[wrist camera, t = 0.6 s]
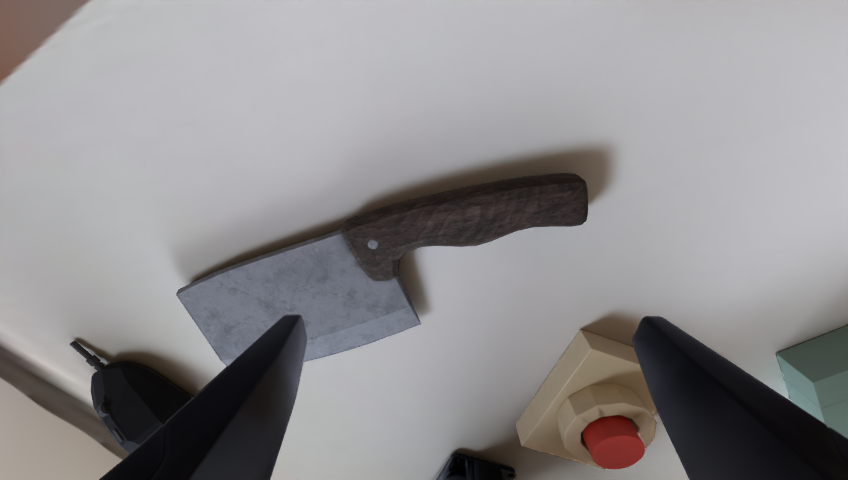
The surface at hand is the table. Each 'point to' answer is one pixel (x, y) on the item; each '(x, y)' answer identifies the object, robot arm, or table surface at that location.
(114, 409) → the gaming mouse
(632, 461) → the button
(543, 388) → the panel
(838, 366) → the green square frame
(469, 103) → the table surface
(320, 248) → the cleaver
